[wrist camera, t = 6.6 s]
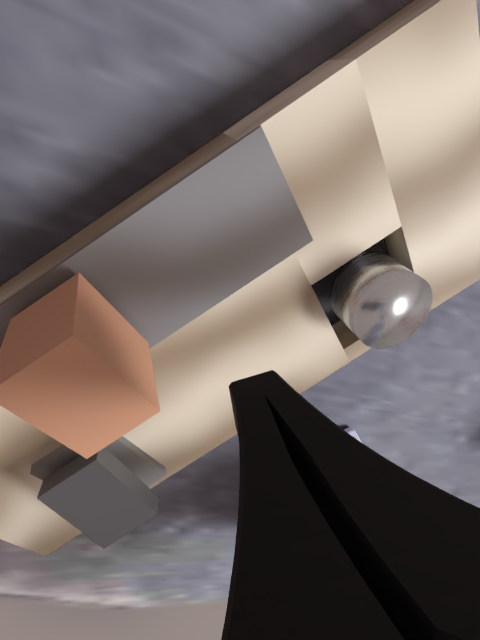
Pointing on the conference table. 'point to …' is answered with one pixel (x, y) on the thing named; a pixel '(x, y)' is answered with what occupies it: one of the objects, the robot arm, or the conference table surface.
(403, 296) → the push button
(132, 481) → the rocker switch
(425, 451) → the conference table surface
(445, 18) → the control panel
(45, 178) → the conference table surface
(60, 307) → the slide paddle
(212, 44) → the conference table surface
